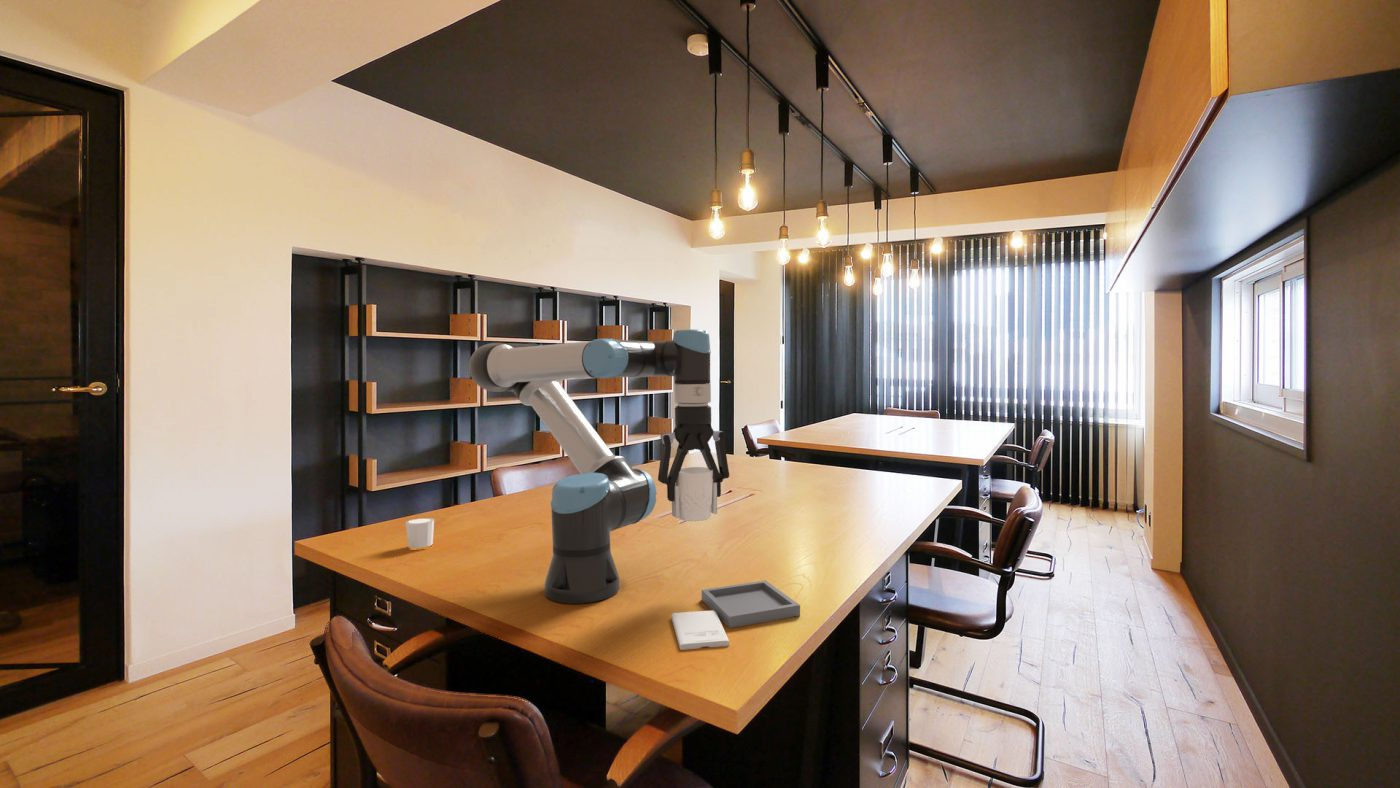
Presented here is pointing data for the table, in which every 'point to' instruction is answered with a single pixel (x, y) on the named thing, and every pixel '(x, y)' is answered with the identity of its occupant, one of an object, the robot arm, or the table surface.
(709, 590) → the tray
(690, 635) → the external hard drive
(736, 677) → the table surface
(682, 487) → the white cup
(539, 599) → the table surface
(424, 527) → the white short cylinder
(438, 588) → the table surface
